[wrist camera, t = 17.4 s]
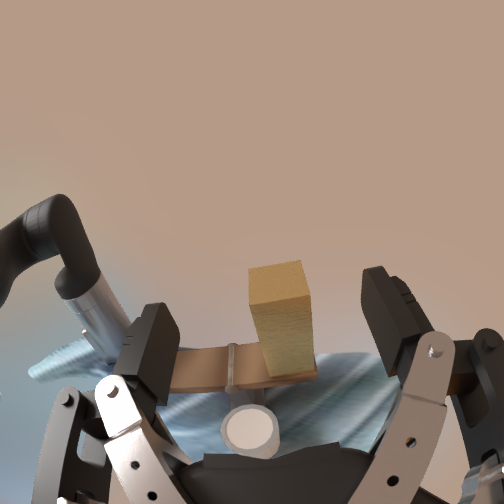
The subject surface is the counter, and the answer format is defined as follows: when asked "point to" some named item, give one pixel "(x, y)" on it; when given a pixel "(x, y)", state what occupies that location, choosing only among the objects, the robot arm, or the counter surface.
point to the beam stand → (247, 398)
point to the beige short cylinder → (251, 431)
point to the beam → (227, 370)
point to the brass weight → (283, 318)
